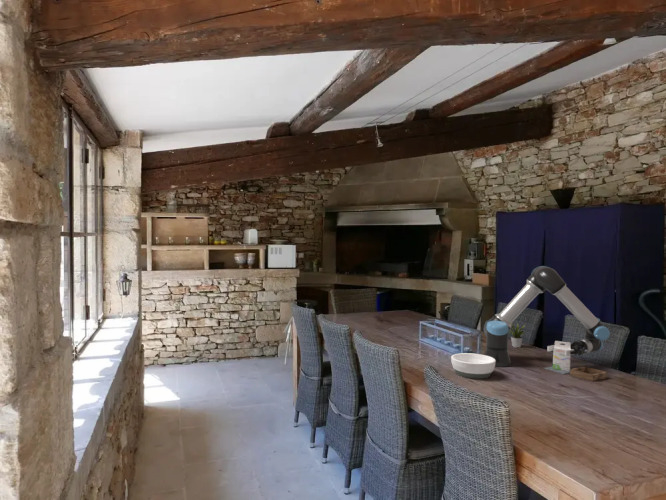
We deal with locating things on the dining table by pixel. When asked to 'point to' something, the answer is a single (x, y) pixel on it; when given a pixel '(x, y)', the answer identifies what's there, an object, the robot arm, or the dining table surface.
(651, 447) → the dining table surface
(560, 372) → the slate mat
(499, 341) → the robot arm
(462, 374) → the bowl
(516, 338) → the house plant
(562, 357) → the ink box
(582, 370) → the wooden tray
